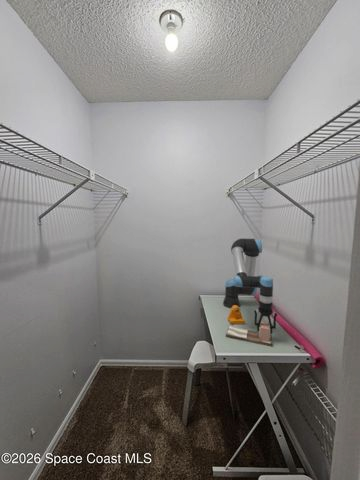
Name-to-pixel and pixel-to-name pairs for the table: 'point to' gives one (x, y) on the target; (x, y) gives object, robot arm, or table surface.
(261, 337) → the stub
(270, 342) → the board
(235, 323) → the bracket
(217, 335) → the table surface
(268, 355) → the table surface
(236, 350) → the table surface
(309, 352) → the table surface
